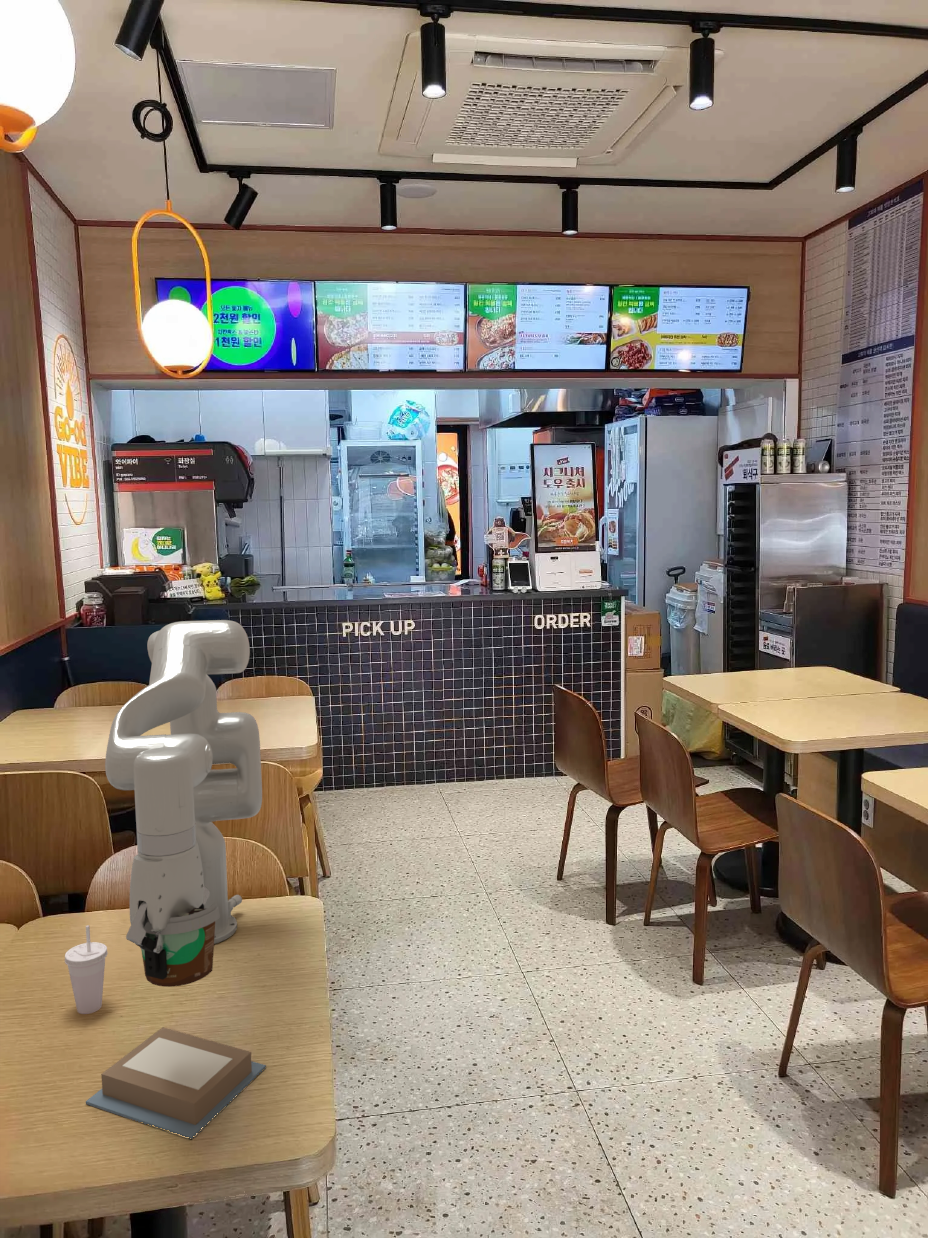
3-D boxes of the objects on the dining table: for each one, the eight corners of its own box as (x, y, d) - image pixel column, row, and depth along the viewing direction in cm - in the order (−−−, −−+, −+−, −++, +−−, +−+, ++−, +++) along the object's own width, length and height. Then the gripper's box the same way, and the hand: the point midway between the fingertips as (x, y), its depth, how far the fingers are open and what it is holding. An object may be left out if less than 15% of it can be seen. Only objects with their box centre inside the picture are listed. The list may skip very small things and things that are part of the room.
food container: (116, 987, 119) (112, 916, 118) (140, 965, 125) (137, 897, 124) (202, 995, 117) (199, 923, 116) (222, 971, 123) (219, 903, 122)
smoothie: (95, 1021, 140) (90, 937, 138) (59, 1016, 141) (53, 933, 139) (118, 999, 146) (114, 918, 144) (84, 995, 147) (79, 915, 145)
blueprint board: (167, 1039, 134) (166, 1018, 134) (266, 1068, 127) (265, 1045, 127) (85, 1104, 120) (84, 1080, 119) (191, 1140, 113) (190, 1115, 112)
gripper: (187, 815, 129) (192, 933, 131) (96, 858, 113) (104, 991, 115) (229, 822, 126) (234, 943, 128) (142, 867, 110) (149, 1003, 112)
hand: (172, 964), depth 121 cm, fingers closed on food container, 5 cm apart
